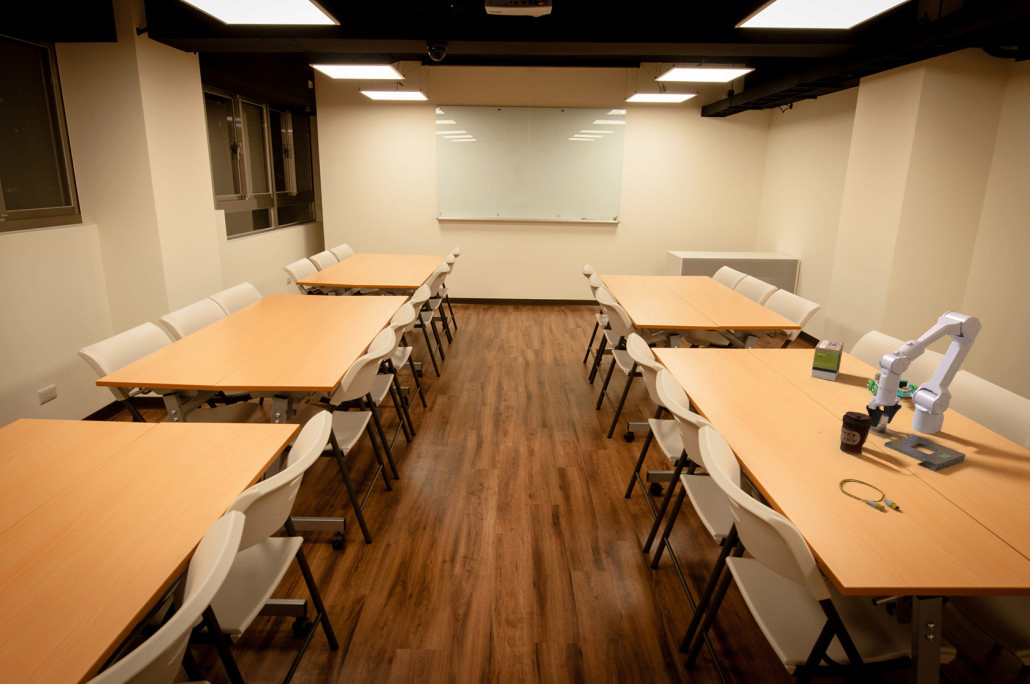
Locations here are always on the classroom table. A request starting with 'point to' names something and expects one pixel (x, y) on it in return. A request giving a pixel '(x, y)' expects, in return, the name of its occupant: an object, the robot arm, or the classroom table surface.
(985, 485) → the classroom table surface
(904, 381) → the robot kit
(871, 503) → the yellow looped cable
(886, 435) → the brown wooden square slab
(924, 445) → the plate
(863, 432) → the coffee cup
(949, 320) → the robot arm
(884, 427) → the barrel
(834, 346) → the tea box
